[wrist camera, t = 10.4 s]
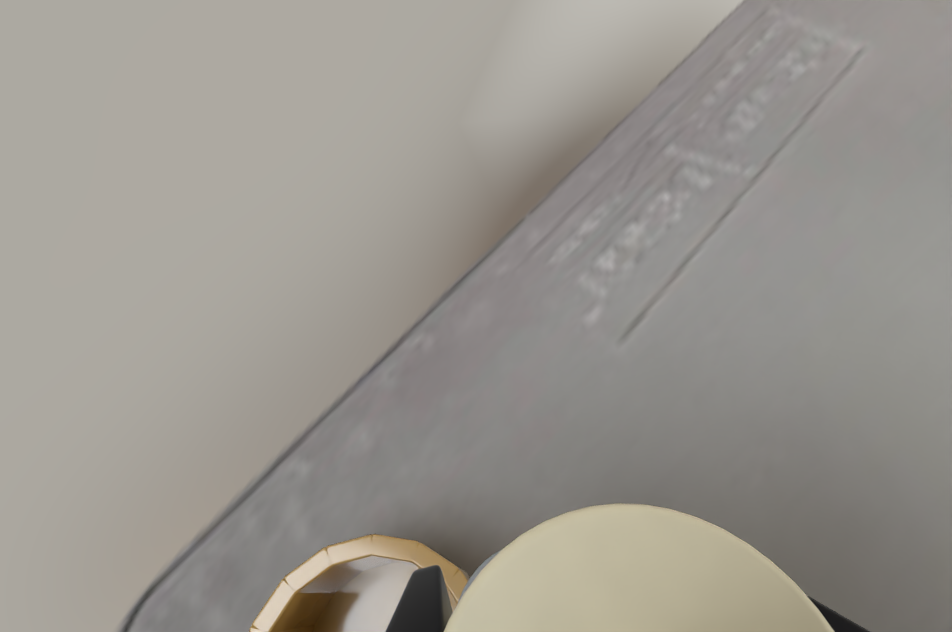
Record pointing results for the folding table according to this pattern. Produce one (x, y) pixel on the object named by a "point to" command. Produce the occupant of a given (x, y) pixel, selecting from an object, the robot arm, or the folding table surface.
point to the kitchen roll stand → (631, 579)
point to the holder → (352, 586)
